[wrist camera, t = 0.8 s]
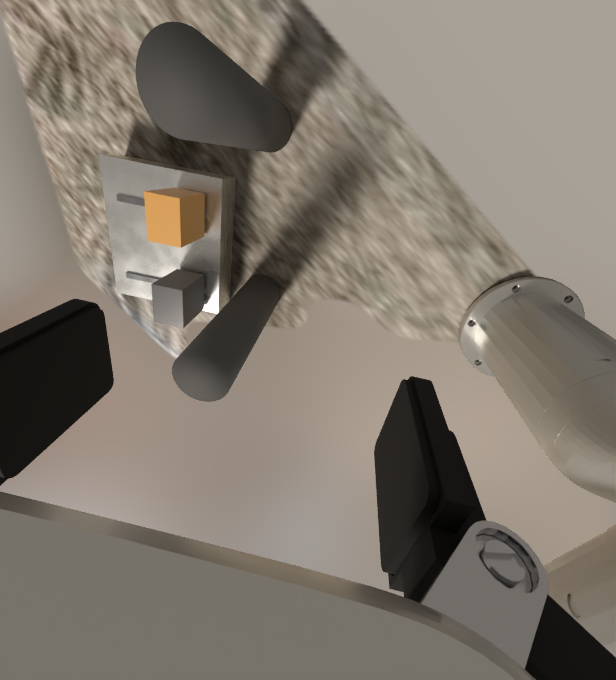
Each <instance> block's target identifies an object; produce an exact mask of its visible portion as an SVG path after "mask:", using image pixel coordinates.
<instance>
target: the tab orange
mask: <svg viewBox="0 0 616 680" xmlns="http://www.w3.org/2000/svg"><path fill="white" fill-rule="evenodd" d="M144 200H145V213H146V225H147V238H148V241H151V242H155V243H160V244H165V245H170V246H175V247H180V248H182V247H184V246H186V245H188V244H190V243H192V242H194V241H196V240H198V239H200V238H202V237H204V228H205V193H200V192H194V191H189V190H184V189H179V188H174V187H173V188H165V189H157V190H149V191H144Z"/></svg>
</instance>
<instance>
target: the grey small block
mask: <svg viewBox="0 0 616 680" xmlns="http://www.w3.org/2000/svg"><path fill="white" fill-rule="evenodd" d="M151 288H152V300H153V313H154V322H157V323H161V324H166V325H171V326H176V327H180V328H184V327H185V326H186V325H187V324H188V323H189V322H190V321H191V320H192V319H193V318H195V317H196V316H197V315H198V314H199V313H200V312H201V311H202V310H203V309H204V274H199V273H194V272H189V271H184V270H180V269H176V270H174V271H173V272H171V273H169V274H168V275H166V276H164V277H162V278H161V279H159V280H157V281H156V282H154V283H152V284H151Z"/></svg>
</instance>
